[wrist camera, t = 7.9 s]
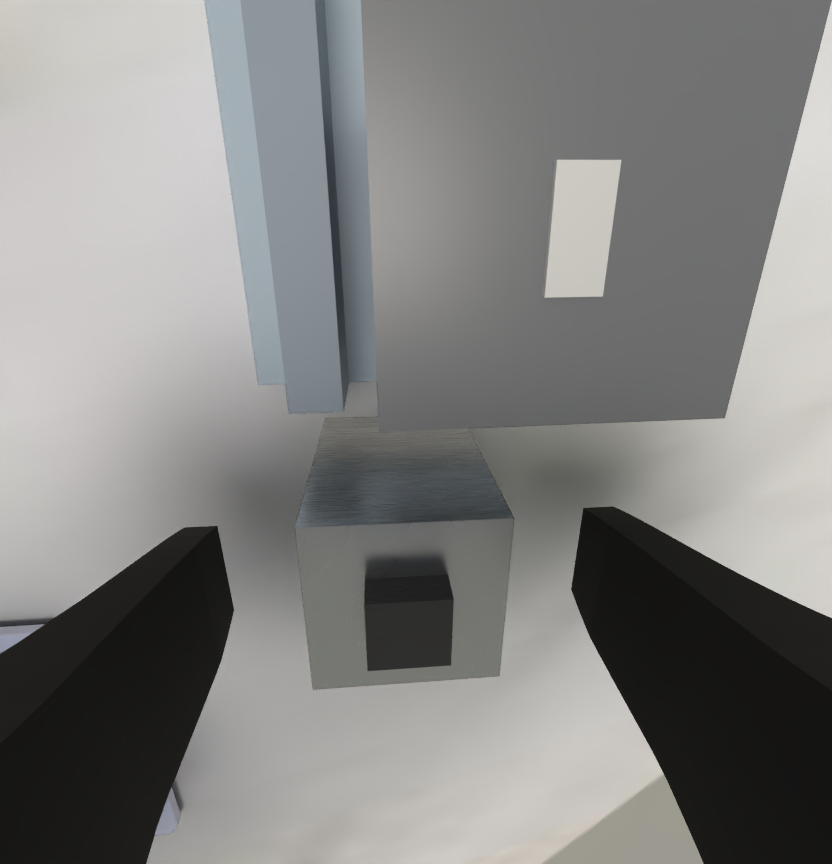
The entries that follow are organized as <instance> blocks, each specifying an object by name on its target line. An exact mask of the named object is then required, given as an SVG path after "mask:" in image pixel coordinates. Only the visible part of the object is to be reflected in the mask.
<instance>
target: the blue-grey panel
mask: <svg viewBox="0 0 832 864" xmlns="http://www.w3.org/2000/svg"><path fill="white" fill-rule="evenodd" d="M204 1H205V8H206V16H207V23H208V30H209V37H210V44H211V51H212V59H213V66H214V73H215V80H216V87H217V94H218V101H219V109H220V116H221V123H222V130H223V137H224V144H225V152H226V159H227V166H228V173H229V180H230V187H231V194H232V202H233V209H234V216H235V223H236V230H237V237H238V245H239V252H240V259H241V266H242V273H243V280H244V287H245V295H246V302H247V309H248V316H249V323H250V330H251V338H252V345H253V352H254V359H255V366H256V373H257V380H258V385H271V384H285V386H286V395H287V403H288V412H289V414H297V413H325V412H344V406H345V401H346V395H347V389H348V384H349V382H371V381H377V371H376V347H375V323H374V300H373V276H372V252H371V229H370V205H369V181H368V158H367V134H366V110H365V87H364V63H363V39H362V16H361V0H204Z"/></svg>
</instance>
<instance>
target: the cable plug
mask: <svg viewBox="0 0 832 864" xmlns="http://www.w3.org/2000/svg"><path fill="white" fill-rule="evenodd" d="M513 525H514V517H513V515H512V513H511V511H510V509H509V507H508V505H507V503H506V501H505V499H504V497H503V496H502V494H501V492H500V490H499V488H498V486H497V484H496V482H495V480H494V478H493V476H492V474H491V472H490V470H489V468H488V466H487V464H486V462H485V460H484V458H483V456H482V454H481V452H480V450H479V449H478V447H477V445H476V443H475V441H474V439H473V437H472V435H471V433H470V431H469V429H468V428H466V429H441V430H416V431H392V432H379V418H378V417H352V418H325V421H324V425H323V429H322V432H321V436H320V439H319V443H318V446H317V450H316V454H315V457H314V461H313V464H312V468H311V471H310V475H309V479H308V482H307V486H306V489H305V493H304V497H303V500H302V504H301V507H300V511H299V514H298V518H297V522H296V525H295V536H296V544H297V553H298V562H299V571H300V580H301V589H302V598H303V607H304V616H305V624H306V633H307V642H308V651H309V660H310V669H311V678H312V687H313V690H314V689H328V688H342V687H356V686H370V685H384V684H398V683H412V682H426V681H440V680H454V679H468V678H482V677H496V676H499V675H500V664H501V653H502V643H503V632H504V621H505V611H506V600H507V589H508V578H509V568H510V557H511V546H512V536H513Z"/></svg>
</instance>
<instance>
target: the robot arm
mask: <svg viewBox="0 0 832 864" xmlns="http://www.w3.org/2000/svg"><path fill="white" fill-rule="evenodd" d="M571 590H572V592H573V595H574V598H575V600H576V603H577V606H578V609H579V611H580V614H581V616H582V619H583V621H584V624H585V626H586V629H587V631H588V633H589V636H590V638H591V640H592V642H593V644H594V645H595V647H596V649H597V651H598V653H599V655H600V657H601V658H602V660H603V662H604V664H605V666H606V668H607V670H608V671H609V673H610V675H611V677H612V679H613V681H614V682H615V684H616V686H617V688H618V690H619V691H620V693H621V695H622V697H623V699H624V700H625V702H626V704H627V706H628V708H629V710H630V711H631V713H632V715H633V717H634V719H635V720H636V722H637V724H638V726H639V728H640V729H641V731H642V733H643V735H644V737H645V739H646V740H647V742H648V744H649V746H650V748H651V749H652V751H653V753H654V755H655V757H656V759H657V761H658V763H659V765H660V767H661V769H662V771H663V773H664V775H665V777H666V779H667V781H668V783H669V785H670V788H671V790H672V792H673V795H674V797H675V799H676V801H677V804H678V806H679V808H680V810H681V813H682V815H683V817H684V819H685V822H686V824H687V826H688V828H689V831H690V833H691V835H692V837H693V840H694V842H695V844H696V846H697V849H698V851H699V853H700V856H701V858H702V860H703V863H704V864H832V618H830V617H828V616H825V615H823V614H821V613H818V612H816V611H814V610H812V609H810V608H807V607H805V606H803V605H801V604H799V603H797V602H795V601H792V600H790V599H788V598H786V597H784V596H782V595H780V594H778V593H776V592H774V591H772V590H770V589H768V588H766V587H764V586H762V585H760V584H758V583H756V582H754V581H752V580H750V579H748V578H746V577H744V576H742V575H740V574H738V573H737V572H735V571H733V570H731V569H729V568H727V567H725V566H723V565H721V564H719V563H718V562H716V561H714V560H712V559H710V558H708V557H706V556H705V555H703V554H701V553H699V552H697V551H696V550H694V549H692V548H690V547H688V546H686V545H685V544H683V543H681V542H679V541H677V540H676V539H674V538H672V537H670V536H668V535H667V534H665V533H663V532H661V531H659V530H658V529H656V528H654V527H652V526H650V525H649V524H647V523H645V522H643V521H641V520H639V519H637V518H636V517H634V516H632V515H630V514H628V513H626V512H624V511H622V510H619V509H617V508H615V507H595V508H583V515H582V521H581V528H580V535H579V541H578V548H577V555H576V561H575V568H574V575H573V581H572V588H571ZM233 612H234V608H233V603H232V598H231V593H230V588H229V583H228V578H227V573H226V568H225V563H224V558H223V553H222V548H221V543H220V538H219V533H218V528H217V526H208V527H188V528H183V529H182V530H180V531H178V532H177V533H175V534H174V535H172V536H170V537H169V538H168V539H166V540H165V541H163V542H162V543H160V544H159V545H158V546H156V547H155V548H153V549H152V550H151V551H149V552H148V553H146V554H145V555H144V556H142V557H141V558H140V559H138V560H137V561H135V562H134V563H133V564H131V565H130V566H129V567H127V568H126V569H124V570H123V571H122V572H120V573H119V574H117V575H116V576H115V577H113V578H112V579H110V580H109V581H108V582H106V583H105V584H103V585H102V586H101V587H99V588H98V589H96V590H95V591H94V592H92V593H91V594H89V595H88V596H87V597H85V598H84V599H82V600H81V601H79V602H78V603H76V604H75V605H73V606H72V607H70V608H69V609H67V610H66V611H64V612H63V613H61V614H60V615H58V616H57V617H55V618H54V619H52V620H51V621H49V622H48V623H46V624H40V625H24V626H9V627H0V864H146V862H147V859H148V855H149V852H150V849H151V845H152V842H153V839H154V836H155V835H165V834H169V833H171V832H173V831H175V830H176V828H177V826H178V823H179V820H180V811H179V808H178V805H177V802H176V799H175V795H174V792H173V789H172V785H173V782H174V780H175V777H176V775H177V772H178V769H179V767H180V764H181V762H182V759H183V757H184V754H185V752H186V749H187V747H188V744H189V742H190V739H191V737H192V734H193V732H194V729H195V727H196V724H197V722H198V719H199V717H200V714H201V711H202V709H203V706H204V704H205V701H206V699H207V696H208V694H209V691H210V688H211V686H212V683H213V681H214V678H215V676H216V673H217V670H218V668H219V665H220V662H221V659H222V655H223V652H224V648H225V644H226V640H227V637H228V633H229V628H230V624H231V620H232V616H233Z"/></svg>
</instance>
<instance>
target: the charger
mask: <svg viewBox="0 0 832 864" xmlns="http://www.w3.org/2000/svg"><path fill="white" fill-rule="evenodd" d="M831 1H832V0H361V16H362V39H363V63H364V87H365V110H366V134H367V158H368V181H369V205H370V229H371V252H372V276H373V300H374V323H375V347H376V371H377V394H378V418H379V432H392V431H416V430H441V429H466V428H491V427H516V426H541V425H566V424H591V423H616V422H641V421H666V420H691V419H716V418H725V415H726V411H727V407H728V403H729V399H730V395H731V392H732V388H733V384H734V380H735V376H736V372H737V368H738V364H739V360H740V356H741V352H742V349H743V345H744V341H745V337H746V333H747V329H748V325H749V321H750V317H751V313H752V309H753V306H754V302H755V298H756V294H757V290H758V286H759V282H760V278H761V274H762V270H763V266H764V263H765V259H766V255H767V251H768V247H769V243H770V239H771V235H772V231H773V227H774V223H775V220H776V216H777V212H778V208H779V204H780V200H781V196H782V192H783V188H784V184H785V181H786V177H787V173H788V169H789V165H790V161H791V157H792V153H793V149H794V145H795V141H796V138H797V134H798V130H799V126H800V122H801V118H802V114H803V110H804V106H805V102H806V98H807V95H808V91H809V87H810V83H811V79H812V75H813V71H814V67H815V63H816V59H817V55H818V52H819V48H820V44H821V40H822V36H823V32H824V28H825V24H826V20H827V16H828V12H829V9H830V5H831Z"/></svg>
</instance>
